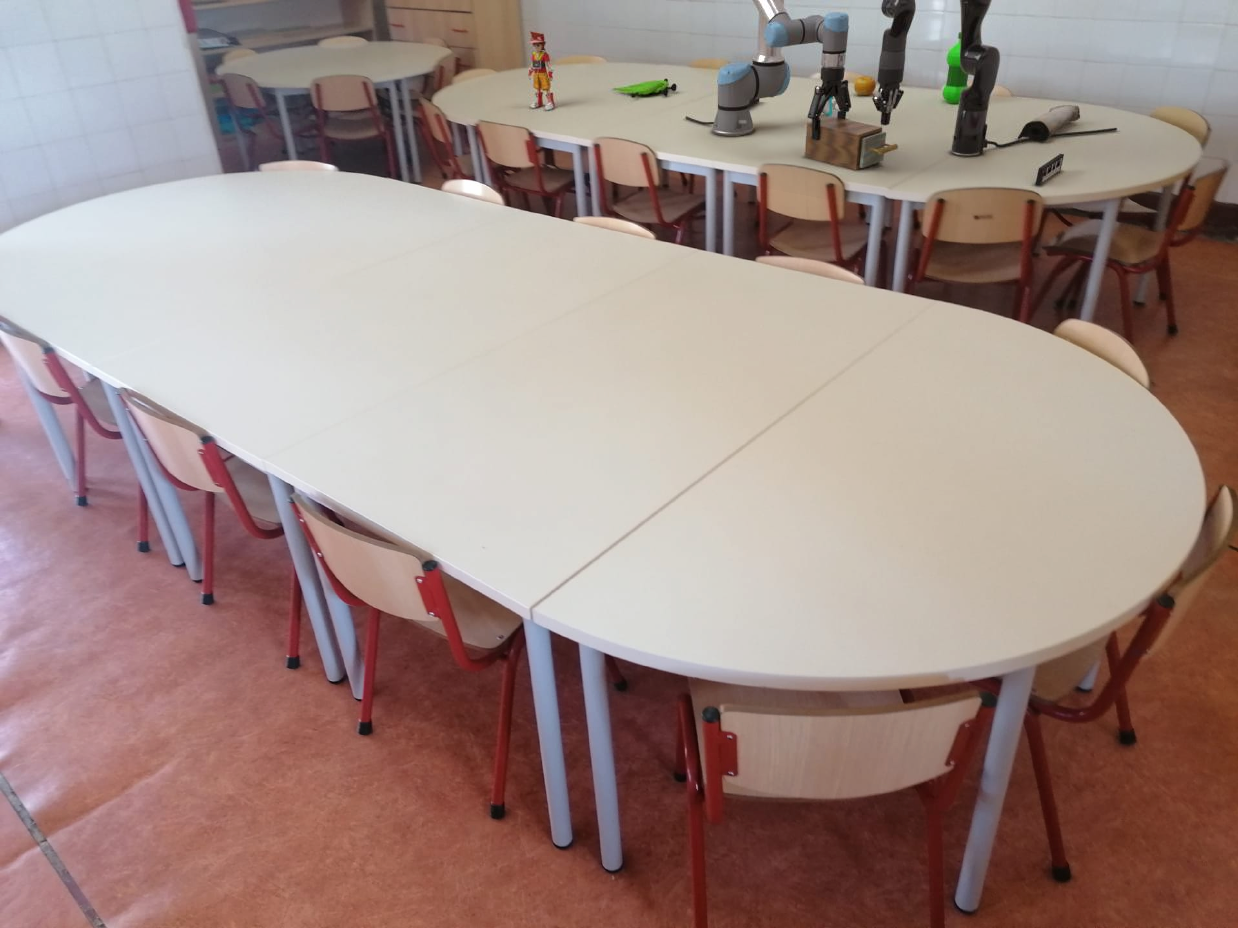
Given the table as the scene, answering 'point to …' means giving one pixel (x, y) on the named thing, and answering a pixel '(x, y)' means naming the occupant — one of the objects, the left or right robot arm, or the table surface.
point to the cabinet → (838, 141)
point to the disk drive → (753, 102)
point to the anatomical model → (831, 109)
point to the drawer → (873, 149)
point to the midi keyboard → (1049, 169)
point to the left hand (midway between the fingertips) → (827, 135)
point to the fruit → (864, 85)
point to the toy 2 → (648, 88)
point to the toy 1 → (541, 71)
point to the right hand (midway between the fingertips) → (884, 124)
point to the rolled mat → (1049, 122)
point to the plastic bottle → (954, 75)
